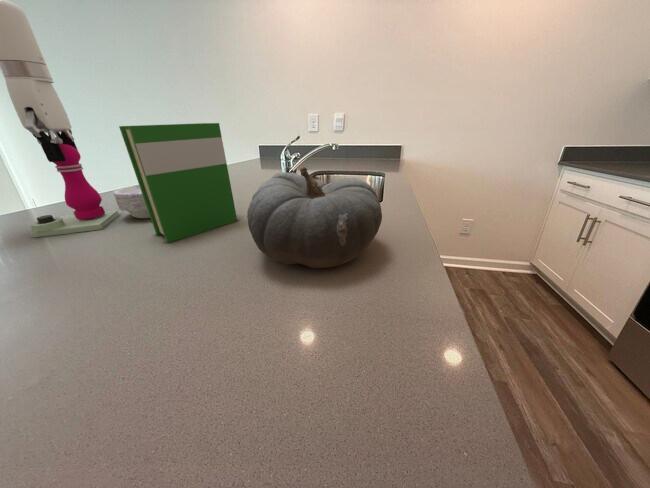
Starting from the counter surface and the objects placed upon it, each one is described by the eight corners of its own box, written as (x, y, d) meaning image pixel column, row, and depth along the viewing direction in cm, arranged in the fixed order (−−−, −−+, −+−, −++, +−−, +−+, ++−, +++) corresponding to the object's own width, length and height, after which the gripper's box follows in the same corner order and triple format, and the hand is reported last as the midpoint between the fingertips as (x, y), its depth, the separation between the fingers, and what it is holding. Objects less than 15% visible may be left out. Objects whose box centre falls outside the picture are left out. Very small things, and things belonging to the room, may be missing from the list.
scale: (31, 238, 62) (24, 227, 61) (59, 221, 73) (54, 211, 71) (101, 229, 66) (96, 218, 65) (119, 214, 77) (115, 205, 75)
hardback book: (168, 242, 58) (129, 126, 47) (156, 234, 63) (118, 126, 52) (237, 220, 70) (219, 123, 59) (223, 214, 74) (204, 123, 64)
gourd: (258, 218, 63) (260, 144, 54) (357, 228, 67) (373, 160, 58) (237, 286, 42) (233, 184, 33) (382, 295, 46) (414, 206, 37)
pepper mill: (67, 218, 69) (27, 138, 60) (97, 210, 75) (65, 136, 66) (83, 221, 67) (44, 138, 58) (113, 212, 73) (82, 136, 64)
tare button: (36, 225, 63) (33, 219, 62) (43, 221, 65) (40, 215, 64) (51, 223, 63) (47, 217, 63) (57, 220, 66) (54, 214, 65)
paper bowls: (172, 202, 87) (165, 179, 83) (190, 212, 77) (183, 186, 73) (118, 214, 77) (107, 188, 73) (130, 227, 67) (118, 197, 64)
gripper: (31, 78, 63) (66, 156, 71) (-30, 66, 48) (22, 166, 56) (69, 79, 65) (98, 154, 73) (21, 67, 50) (65, 163, 58)
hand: (65, 158), depth 64 cm, fingers closed on pepper mill, 6 cm apart
